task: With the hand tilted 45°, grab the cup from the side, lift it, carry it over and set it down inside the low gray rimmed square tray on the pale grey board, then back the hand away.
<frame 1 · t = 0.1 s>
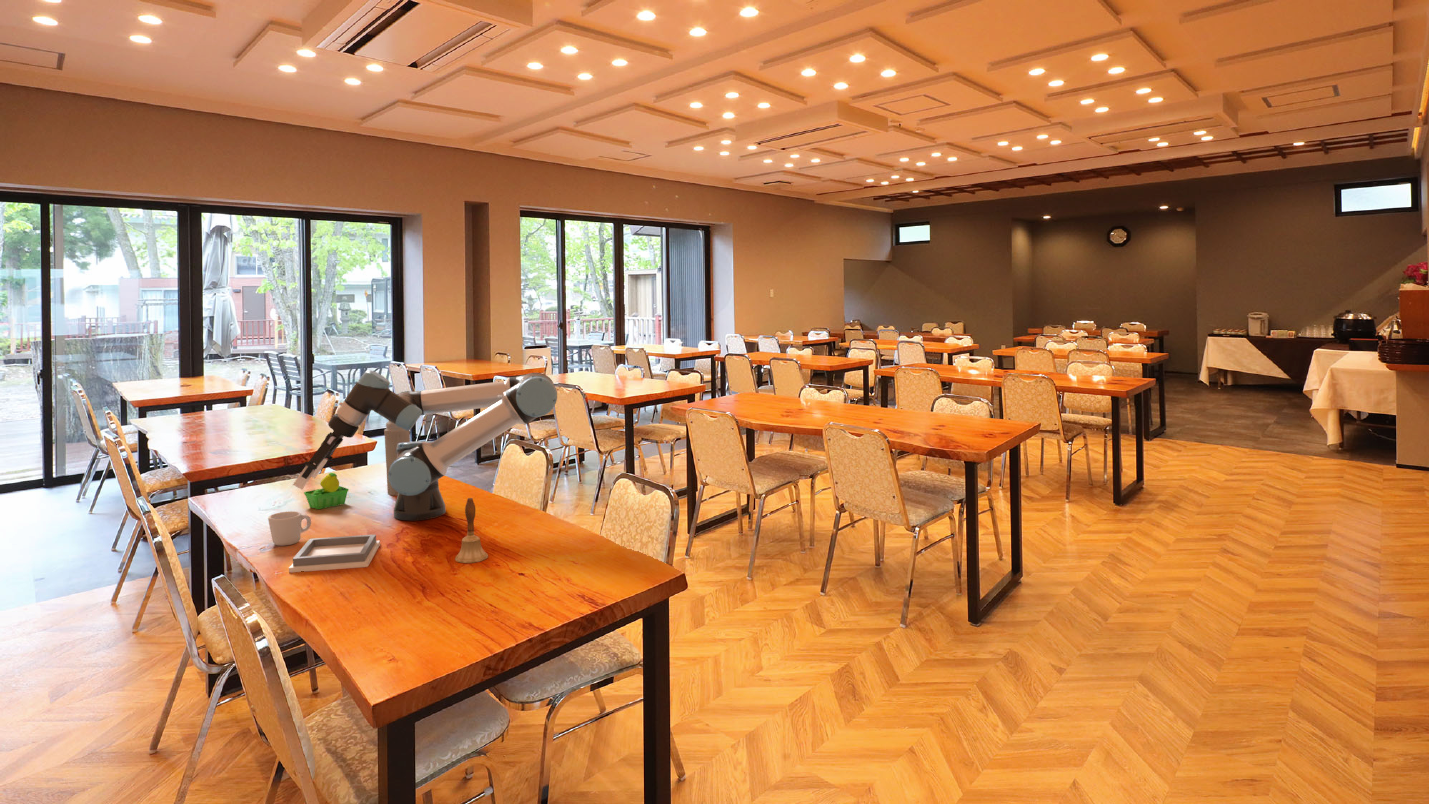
hand: (304, 481, 219), 15 cm above the table, tool tilted 35°, fingers open, 13 cm apart
cup: (292, 542, 214), on the table
gray rimmed square tray: (337, 557, 201), on the table
hand bell: (471, 558, 201), on the table
fruit basket: (328, 506, 250), on the table
thermos bottle: (400, 492, 268), on the table
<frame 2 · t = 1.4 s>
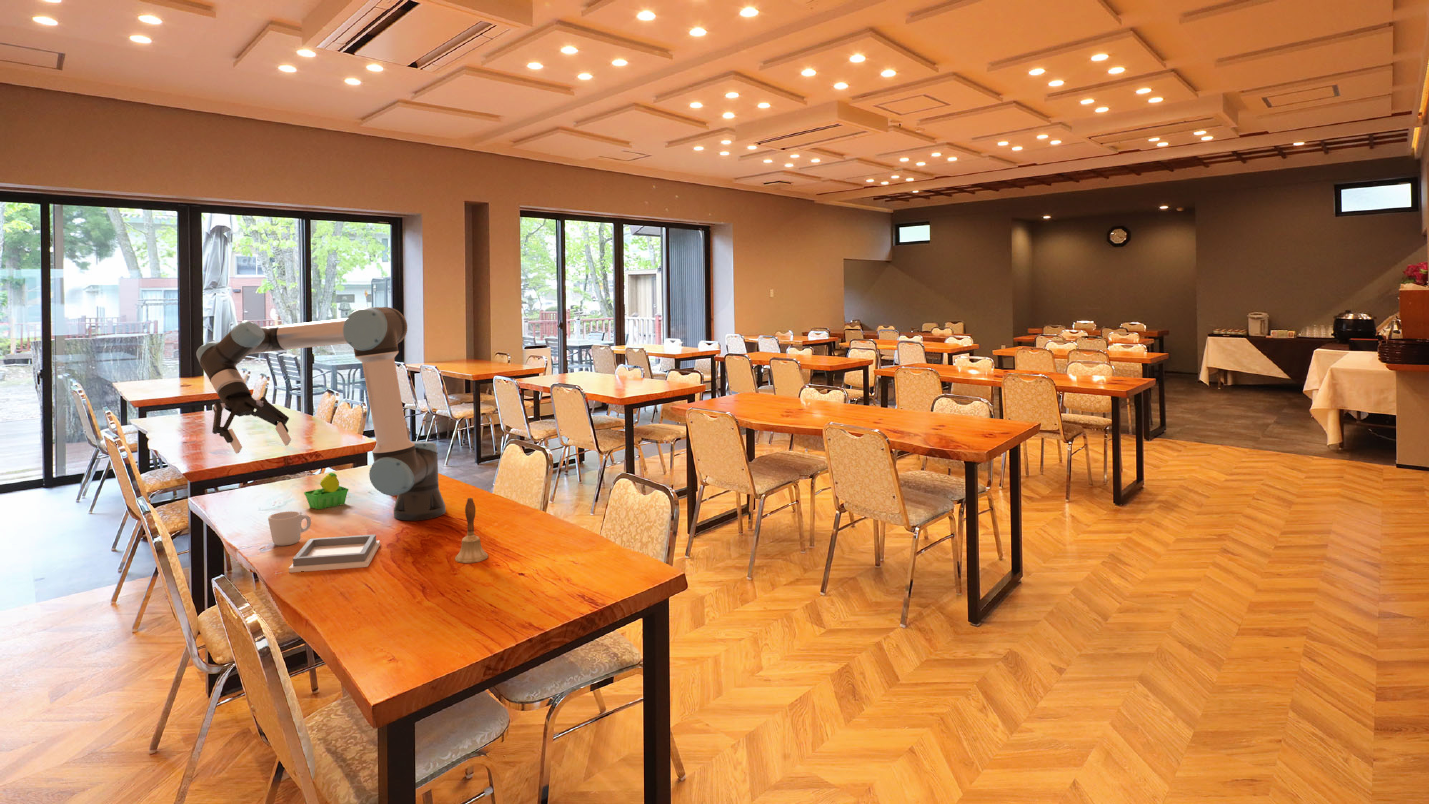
hand: (264, 446, 215), 26 cm above the table, tool tilted 45°, fingers open, 13 cm apart
nothing on the table moved.
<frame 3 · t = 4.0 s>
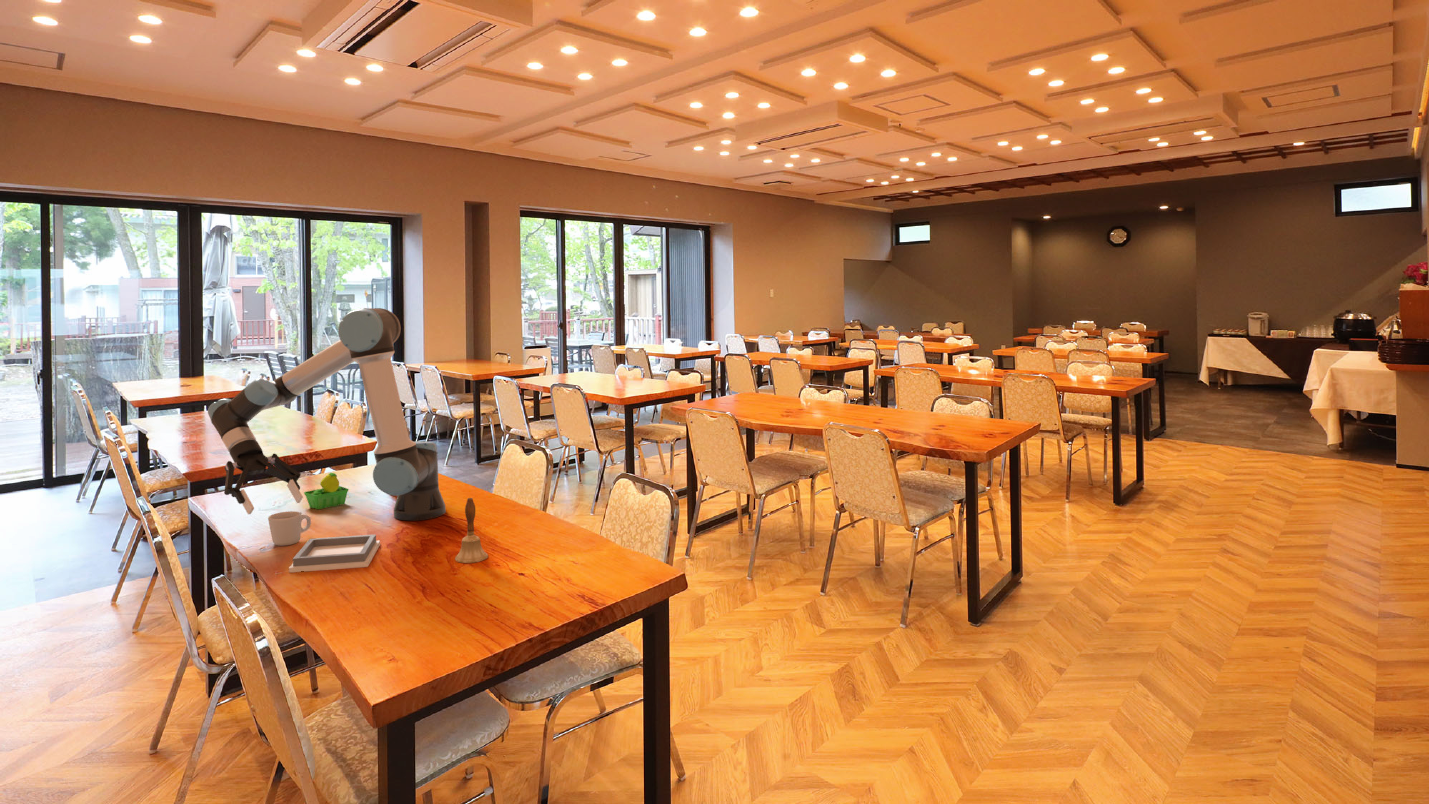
hand: (276, 505, 214), 10 cm above the table, tool tilted 45°, fingers open, 13 cm apart
nothing on the table moved.
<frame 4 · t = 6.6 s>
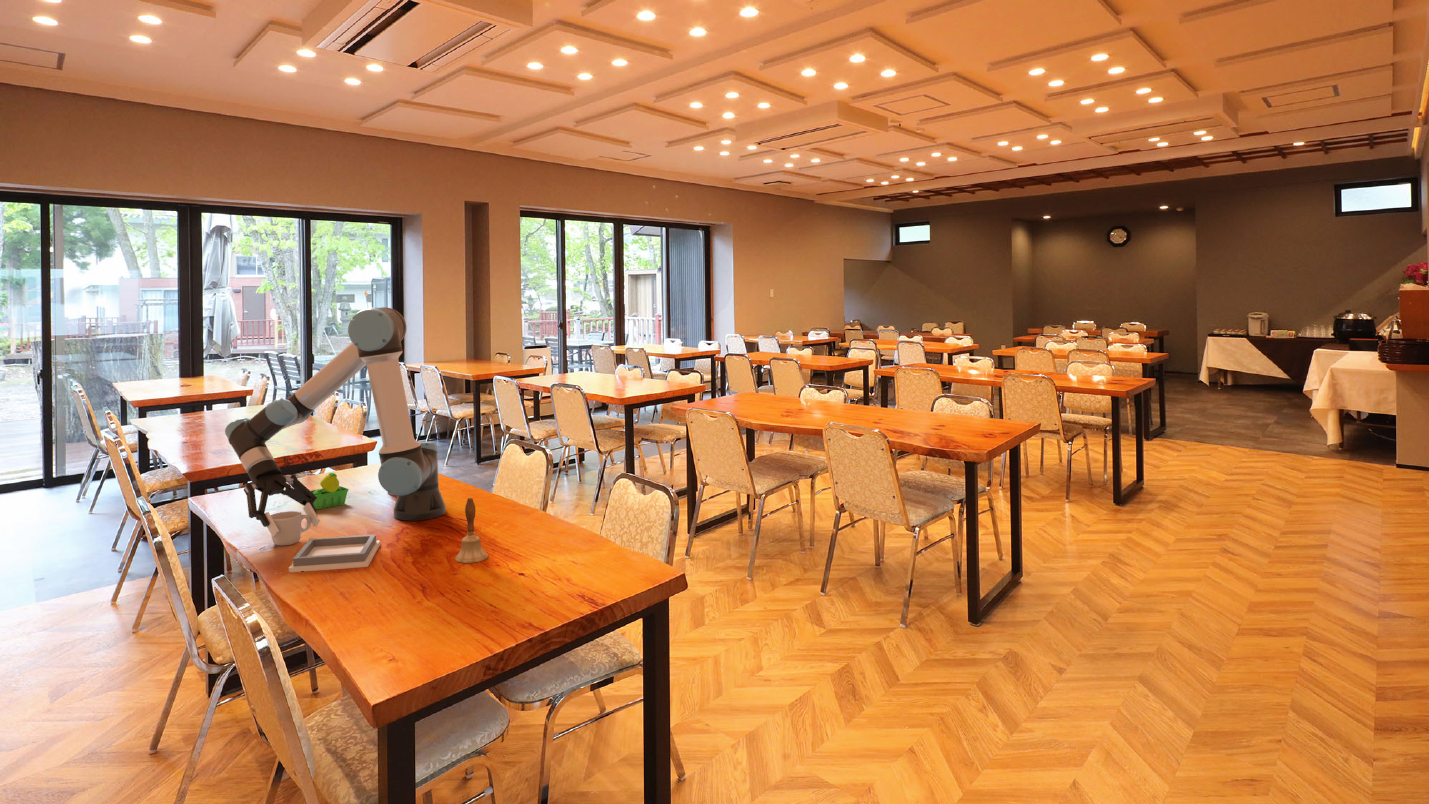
hand: (297, 529, 211), 4 cm above the table, tool tilted 45°, fingers closed on cup, 11 cm apart
cup: (292, 542, 213), on the table, touching gripper
everything else where it was.
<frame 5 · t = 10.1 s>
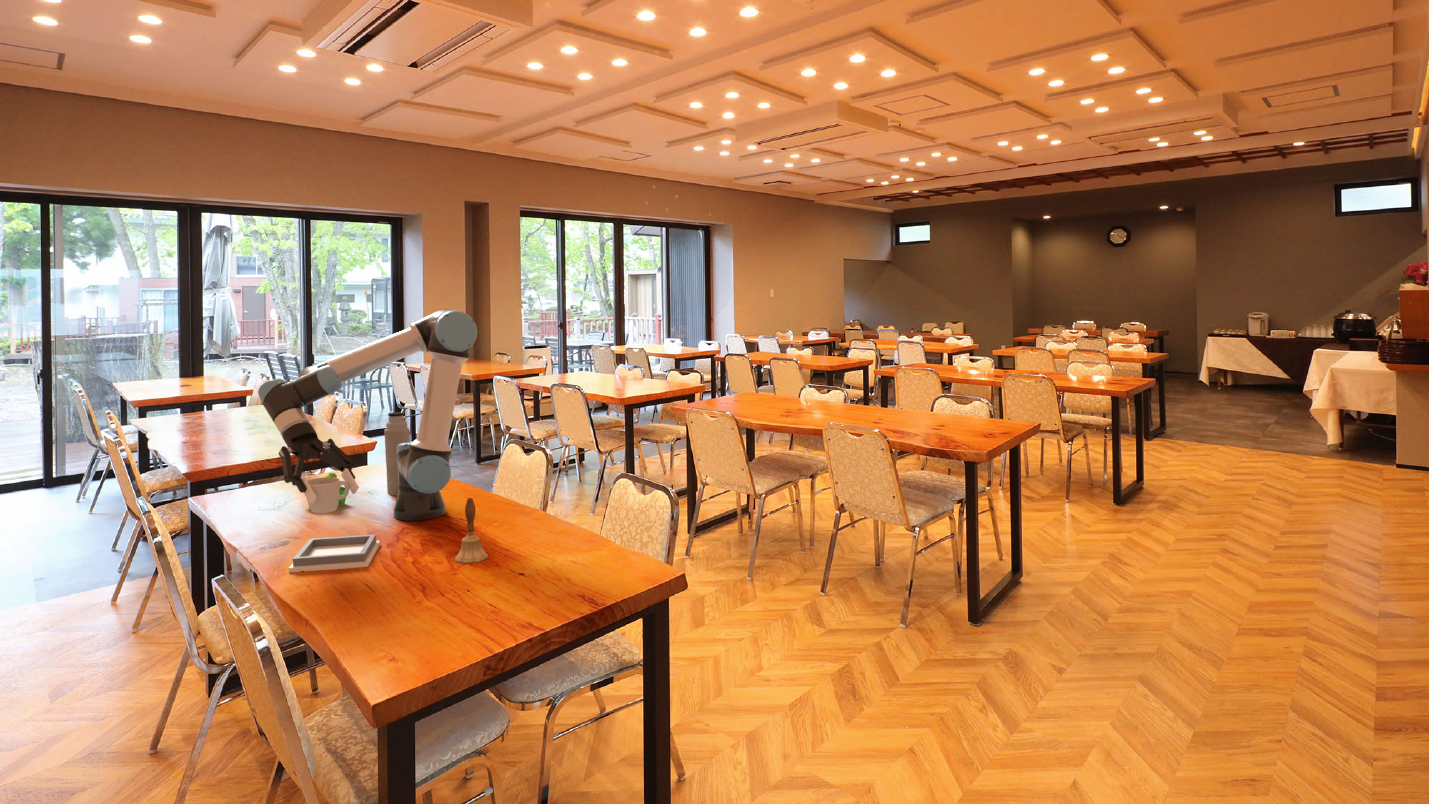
hand: (335, 495, 197), 17 cm above the table, tool tilted 45°, fingers closed on cup, 11 cm apart
cup: (329, 510, 199), point 13 cm above the table, touching gripper
everything else where it was.
when the fingers open (7 cm above the table, at t = 13.7 s): cup drops 1 cm, resting on gray rimmed square tray.
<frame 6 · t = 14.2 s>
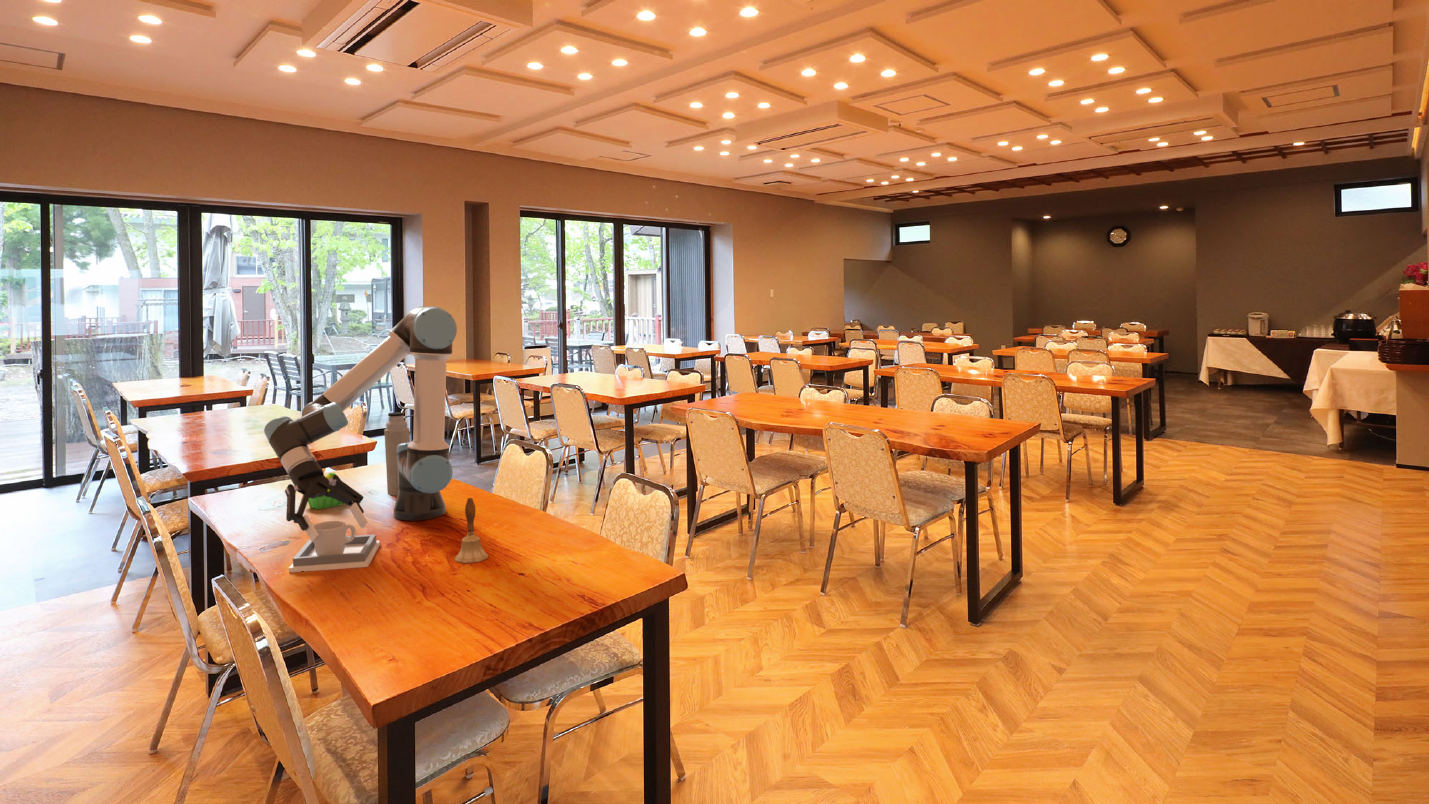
hand: (340, 531, 199), 7 cm above the table, tool tilted 45°, fingers open, 13 cm apart
cup: (336, 554, 201), point 1 cm above the table, touching gray rimmed square tray
everything else where it was.
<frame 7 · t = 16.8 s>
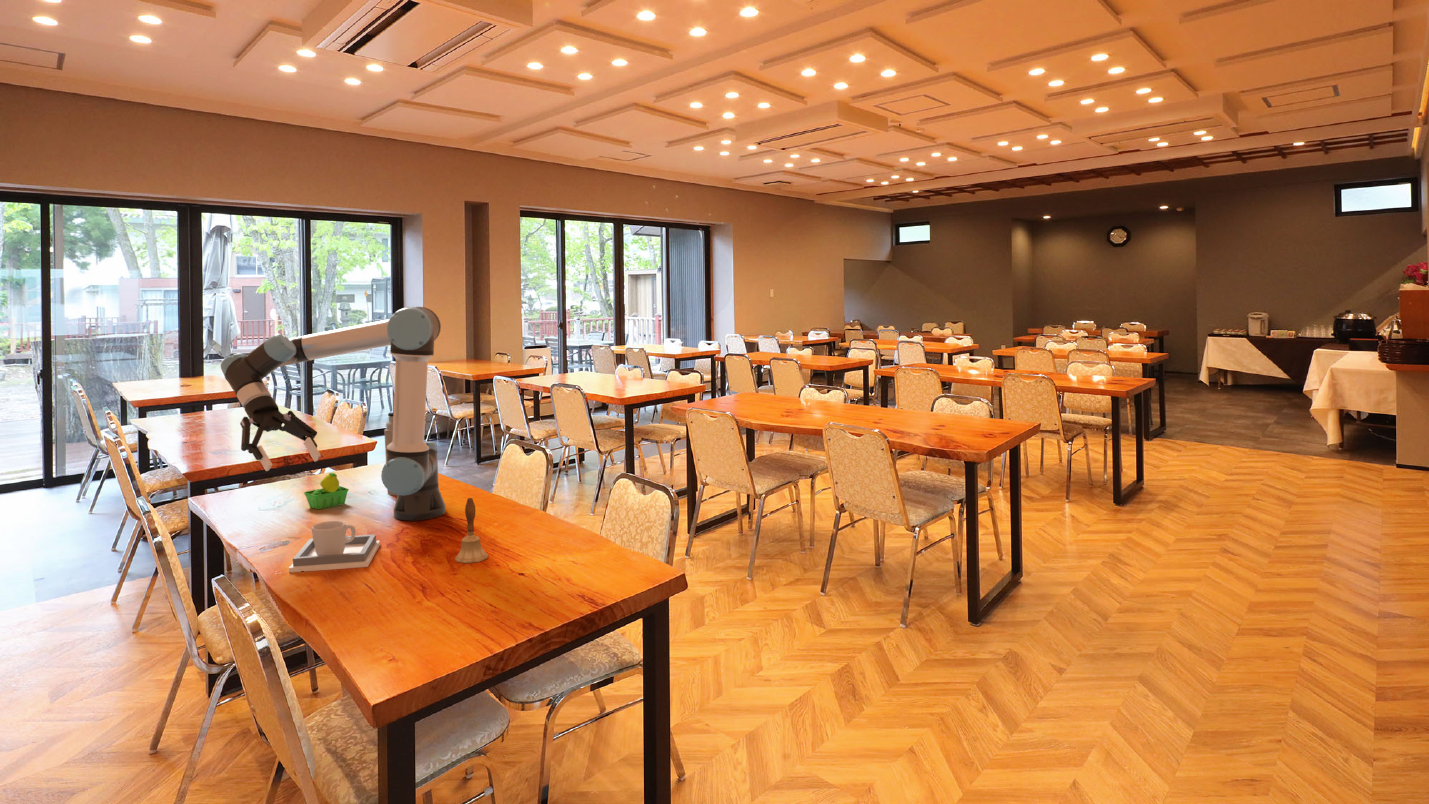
hand: (294, 463, 208), 23 cm above the table, tool tilted 45°, fingers open, 13 cm apart
nothing on the table moved.
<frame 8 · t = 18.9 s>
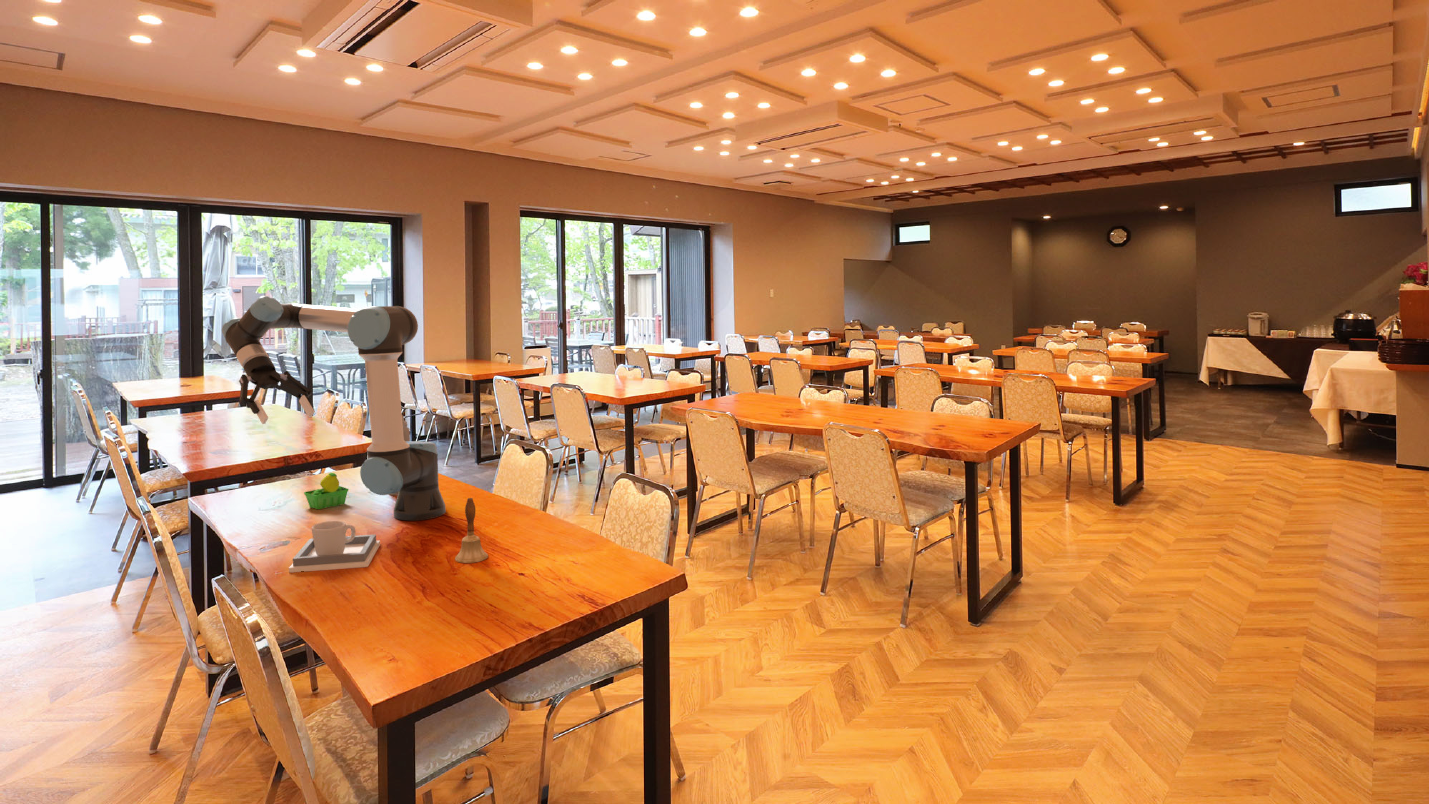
hand: (289, 417, 222), 33 cm above the table, tool tilted 45°, fingers open, 13 cm apart
nothing on the table moved.
at the end: cup 0.2 cm off-centre on the gray rimmed square tray, point 1.0 cm above the gray rimmed square tray's base; cup tilted 0°; the gripper is holding nothing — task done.
